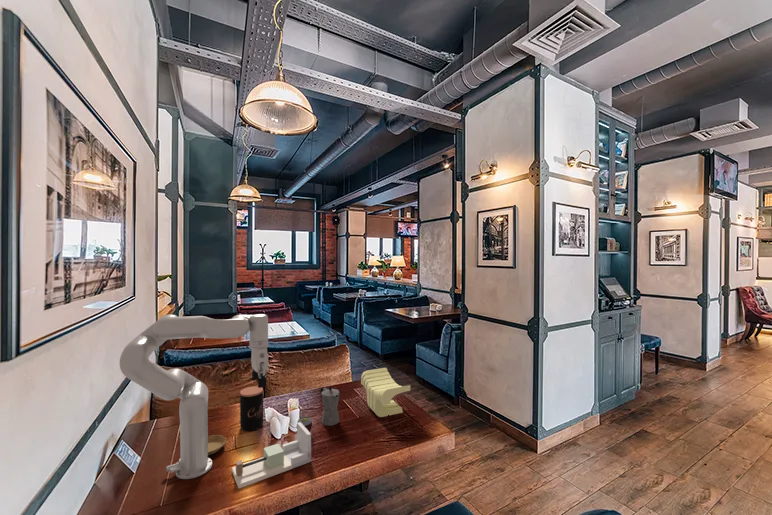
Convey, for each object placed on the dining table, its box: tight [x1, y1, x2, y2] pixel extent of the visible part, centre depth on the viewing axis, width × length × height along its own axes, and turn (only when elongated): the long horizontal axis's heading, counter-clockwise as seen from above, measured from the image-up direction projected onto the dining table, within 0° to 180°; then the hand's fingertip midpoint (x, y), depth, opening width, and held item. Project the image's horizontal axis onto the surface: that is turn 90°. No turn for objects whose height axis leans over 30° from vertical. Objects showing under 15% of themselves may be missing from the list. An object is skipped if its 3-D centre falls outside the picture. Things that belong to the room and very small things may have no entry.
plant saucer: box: [208, 434, 227, 456], centre depth 147 cm, size 15×15×3 cm
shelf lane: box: [231, 422, 312, 489], centre depth 136 cm, size 28×12×12 cm, turn 125°
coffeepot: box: [319, 386, 340, 427], centre depth 173 cm, size 15×9×18 cm, turn 44°
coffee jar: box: [239, 385, 264, 432], centre depth 167 cm, size 11×11×18 cm
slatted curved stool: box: [360, 367, 411, 418], centre depth 185 cm, size 30×16×18 cm, turn 25°
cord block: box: [235, 443, 284, 476], centre depth 133 cm, size 17×7×5 cm, turn 125°
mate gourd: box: [296, 409, 313, 433], centre depth 158 cm, size 8×8×15 cm
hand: (259, 383), depth 144 cm, fingers open, 9 cm apart
